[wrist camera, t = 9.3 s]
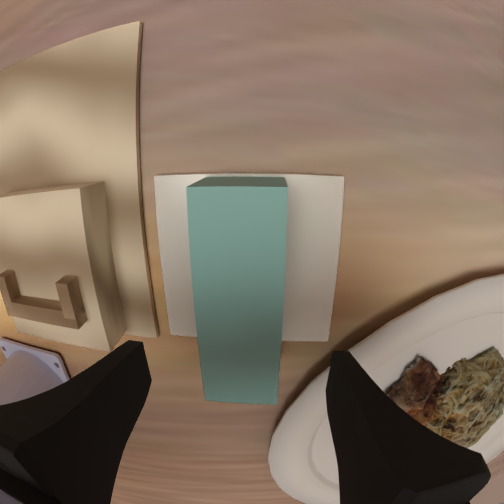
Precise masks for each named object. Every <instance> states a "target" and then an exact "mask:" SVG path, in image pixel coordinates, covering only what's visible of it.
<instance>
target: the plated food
mask: <svg viewBox="0 0 504 504" xmlns="http://www.w3.org/2000/svg"><path fill="white" fill-rule="evenodd" d="M347 351H349V352H350V353H351V354H352V355H353V357H354V358H355V359H356V360H357V362H358V363H359V364H360V365H361V367H362V368H363V369H364V370H365V371H366V373H367V374H368V375H369V376H370V377H371V378H372V380H373V381H374V382H375V383H376V384H377V385H378V386H379V387H380V388H381V390H382V391H383V392H384V393H385V394H386V395H387V396H388V397H389V398H390V399H391V400H392V401H393V402H394V403H396V404H397V405H398V406H399V407H400V408H401V409H403V410H404V411H405V412H406V413H407V414H409V415H410V416H411V417H412V418H414V419H415V420H417V421H418V422H419V423H421V424H422V425H424V426H425V427H427V428H428V429H430V430H432V431H433V432H435V433H437V434H438V435H440V436H442V437H444V438H446V439H448V440H450V441H452V442H454V443H456V444H458V445H460V446H463V447H465V448H468V449H470V450H473V451H476V452H478V453H481V455H482V456H483V458H484V460H485V462H486V464H487V463H489V462H490V461H491V460H493V459H494V458H495V457H496V456H498V455H499V454H500V453H501V452H503V451H504V273H503V274H498V275H494V276H489V277H484V278H479V279H475V280H472V281H470V282H468V283H465V284H463V285H460V286H458V287H456V288H453V289H451V290H448V291H446V292H443V293H440V294H438V295H435V296H433V297H432V298H430V299H428V300H427V301H425V302H423V303H421V304H420V305H418V306H416V307H414V308H412V309H411V310H409V311H407V312H405V313H403V314H402V315H400V316H398V317H396V318H394V319H392V320H390V321H389V322H387V323H386V324H385V325H383V326H382V327H381V328H379V329H378V330H376V331H375V332H373V333H372V334H371V335H369V336H368V337H366V338H365V339H363V340H362V341H361V342H359V343H358V344H356V345H355V346H353V347H352V348H350V349H349V350H347ZM329 370H330V366H329V367H328V368H326V369H325V370H324V371H323V372H322V373H321V374H319V375H318V376H317V377H316V378H315V379H313V380H312V381H311V382H310V383H309V384H308V385H307V387H306V388H305V389H304V390H303V391H302V393H301V394H300V395H299V396H298V397H297V398H296V399H295V401H294V402H293V403H292V404H291V405H290V406H289V407H288V408H287V410H286V411H285V413H284V415H283V416H282V418H281V420H280V422H279V424H278V426H277V427H276V429H275V431H274V433H273V435H272V439H271V444H270V449H269V454H268V461H269V466H270V471H271V475H272V477H273V479H274V480H275V481H276V483H277V484H278V486H279V487H280V488H281V489H282V490H283V491H284V492H286V493H287V494H289V495H290V496H291V497H293V498H294V499H296V500H299V501H301V502H303V503H306V504H340V493H339V475H338V465H337V458H336V453H335V449H334V444H333V439H332V434H331V429H330V424H329V420H328V415H327V405H326V392H325V390H326V385H327V380H328V375H329Z"/></svg>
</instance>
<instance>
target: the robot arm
mask: <svg viewBox="0 0 504 504" xmlns="http://www.w3.org/2000/svg"><path fill="white" fill-rule="evenodd" d="M0 346H1V349H2V351H3V353H4V355H5V358H6V361H5V362H4V363H3V364H2V365H1V366H0V504H110V502H111V497H112V492H113V487H114V483H115V479H116V475H117V471H118V467H119V464H120V460H121V457H122V454H123V450H124V448H125V445H126V443H127V441H128V438H129V436H130V434H131V432H132V430H133V428H134V425H135V423H136V421H137V419H138V417H139V415H140V412H141V410H142V408H143V406H144V404H145V401H146V398H147V395H148V392H149V388H150V385H151V381H152V379H151V375H150V371H149V367H148V363H147V359H146V355H145V350H144V346H143V342H139V341H131V340H128V341H127V342H125V343H124V344H122V345H121V346H119V347H118V348H116V349H115V350H114V351H112V352H111V353H109V354H108V355H107V356H105V357H104V358H102V359H101V360H99V361H98V362H97V363H95V364H94V365H92V366H91V367H89V368H88V369H86V370H84V371H83V372H81V373H80V374H78V375H76V376H75V377H73V378H72V379H70V378H69V376H68V374H67V371H66V369H65V366H64V364H63V361H62V359H61V357H60V356H59V355H58V354H57V353H54V352H50V351H46V350H42V349H39V348H35V347H31V346H28V345H24V344H21V343H18V342H14V341H11V340H8V339H5V338H0ZM325 392H326V405H327V415H328V420H329V424H330V429H331V434H332V439H333V444H334V449H335V453H336V458H337V465H338V475H339V493H340V504H470V502H469V501H470V500H471V499H472V498H473V497H474V496H475V495H476V494H477V493H478V492H479V491H480V490H482V489H483V487H484V486H485V485H486V484H487V483H488V481H489V479H490V477H491V474H490V471H489V469H488V467H487V464H486V462H485V460H484V458H483V456H482V455H481V453H478V452H476V451H473V450H470V449H468V448H465V447H463V446H460V445H458V444H456V443H454V442H452V441H450V440H448V439H446V438H444V437H442V436H440V435H438V434H437V433H435V432H433V431H432V430H430V429H428V428H427V427H425V426H424V425H422V424H421V423H419V422H418V421H417V420H415V419H414V418H412V417H411V416H410V415H409V414H407V413H406V412H405V411H404V410H403V409H401V408H400V407H399V406H398V405H397V404H396V403H394V402H393V401H392V400H391V399H390V398H389V397H388V396H387V395H386V394H385V393H384V392H383V391H382V390H381V388H380V387H379V386H378V385H377V384H376V383H375V382H374V381H373V380H372V378H371V377H370V376H369V375H368V374H367V373H366V371H365V370H364V369H363V368H362V367H361V365H360V364H359V363H358V362H357V360H356V359H355V358H354V357H353V355H352V354H351V353H350V352H349V351H333V353H332V359H331V364H330V370H329V375H328V380H327V385H326V390H325ZM499 504H504V503H499Z"/></svg>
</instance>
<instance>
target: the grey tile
mask: <svg viewBox="0 0 504 504" xmlns="http://www.w3.org/2000/svg"><path fill="white" fill-rule="evenodd" d="M220 176H258V177H285V180H286V183H287V186H288V204H287V236H286V263H285V285H284V305H283V323H282V340H281V341H328V337H329V331H330V324H331V317H332V309H333V302H334V294H335V285H336V277H337V267H338V258H339V247H340V236H341V223H342V209H343V193H344V176H342V175H324V174H300V173H186V174H162V175H156V176H154V182H155V199H156V214H157V226H158V238H159V248H160V258H161V267H162V276H163V284H164V292H165V300H166V307H167V314H168V321H169V327H170V334H171V335H177V336H189V337H197V330H196V320H195V310H194V300H193V288H192V276H191V263H190V249H189V233H188V215H187V194H186V187H187V186H189V185H191V184H193V183H195V182H197V181H199V180H201V179H203V178H205V177H220Z"/></svg>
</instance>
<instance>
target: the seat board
mask: <svg viewBox="0 0 504 504" xmlns="http://www.w3.org/2000/svg"><path fill="white" fill-rule="evenodd" d="M142 26H143V23H142V22H141V21H137V22H133V23H128V24H124V25H120V26H116V27H113V28H109V29H105V30H102V31H99V32H95V33H92V34H89V35H86V36H83V37H80V38H77V39H74V40H71V41H68V42H66V43H63V44H60V45H58V46H55V47H52V48H50V49H47V50H45V51H43V52H40V53H38V54H36V55H33V56H31V57H29V58H27V59H25V60H22V61H20V62H18V63H16V64H14V65H12V66H10V67H8V68H6V69H4V70H2V71H0V290H1V294H2V297H3V300H4V303H5V306H6V309H7V312H8V315H10V316H12V318H13V320H14V323H15V326H16V329H17V331H18V332H20V333H24V334H28V335H32V336H36V337H40V338H44V339H48V340H52V341H57V342H61V343H66V344H70V345H75V346H80V347H85V348H91V349H96V350H101V351H107V352H111V351H112V350H113V348H114V347H115V345H116V344H117V343H118V341H119V340H120V338H121V337H122V336H123V334H125V335H133V336H141V337H150V338H158V336H159V331H158V325H157V319H156V313H155V307H154V300H153V294H152V287H151V280H150V272H149V264H148V256H147V247H146V238H145V227H144V216H143V204H142V190H141V172H140V147H139V79H140V55H141V39H142Z"/></svg>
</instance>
